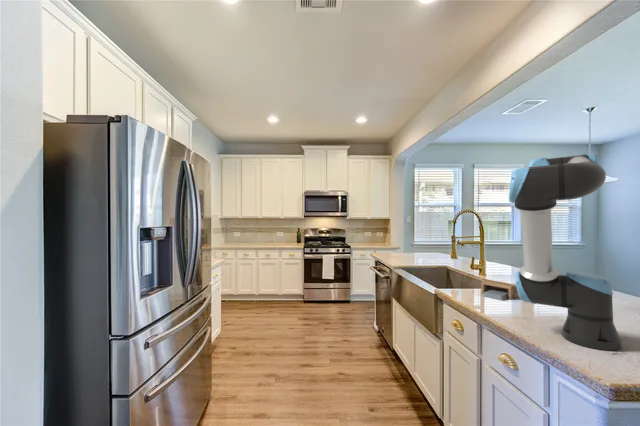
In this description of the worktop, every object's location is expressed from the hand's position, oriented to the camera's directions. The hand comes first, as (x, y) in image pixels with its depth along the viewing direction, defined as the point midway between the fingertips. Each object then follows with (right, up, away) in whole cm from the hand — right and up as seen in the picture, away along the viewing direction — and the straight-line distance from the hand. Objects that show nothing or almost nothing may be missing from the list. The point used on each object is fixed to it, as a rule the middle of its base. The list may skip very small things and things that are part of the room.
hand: (542, 242), depth 132 cm
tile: (-6, -32, +23) cm, 40 cm away
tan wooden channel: (-4, -32, +25) cm, 41 cm away
